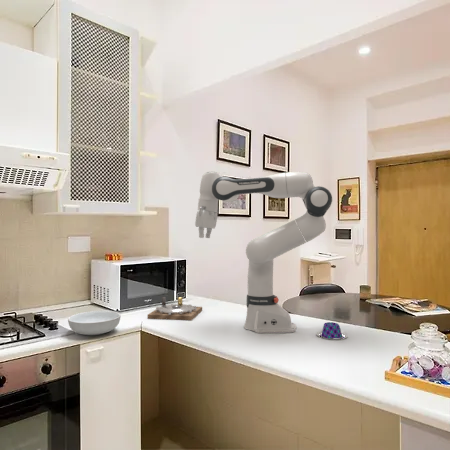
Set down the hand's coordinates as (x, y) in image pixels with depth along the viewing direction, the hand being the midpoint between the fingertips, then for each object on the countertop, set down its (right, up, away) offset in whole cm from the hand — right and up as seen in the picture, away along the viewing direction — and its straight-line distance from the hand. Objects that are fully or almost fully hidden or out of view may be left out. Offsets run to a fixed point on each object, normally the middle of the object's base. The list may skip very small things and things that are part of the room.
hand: (204, 237), depth 167 cm
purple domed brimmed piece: (+52, -39, -20) cm, 68 cm away
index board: (-16, -40, +20) cm, 47 cm away
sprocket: (-16, -37, +20) cm, 45 cm away
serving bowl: (-45, -39, -13) cm, 61 cm away
